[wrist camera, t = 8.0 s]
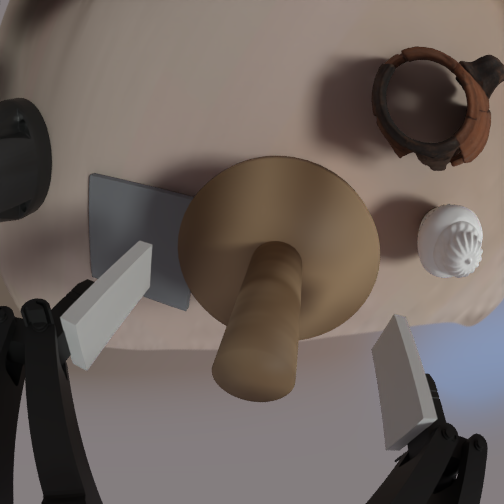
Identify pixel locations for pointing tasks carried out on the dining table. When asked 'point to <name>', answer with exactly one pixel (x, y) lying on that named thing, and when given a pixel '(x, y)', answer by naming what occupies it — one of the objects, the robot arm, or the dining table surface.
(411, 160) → the dining table surface
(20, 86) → the dining table surface
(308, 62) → the dining table surface
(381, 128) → the pottery mug
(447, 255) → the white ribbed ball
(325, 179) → the walnut lid
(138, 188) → the grey mat
